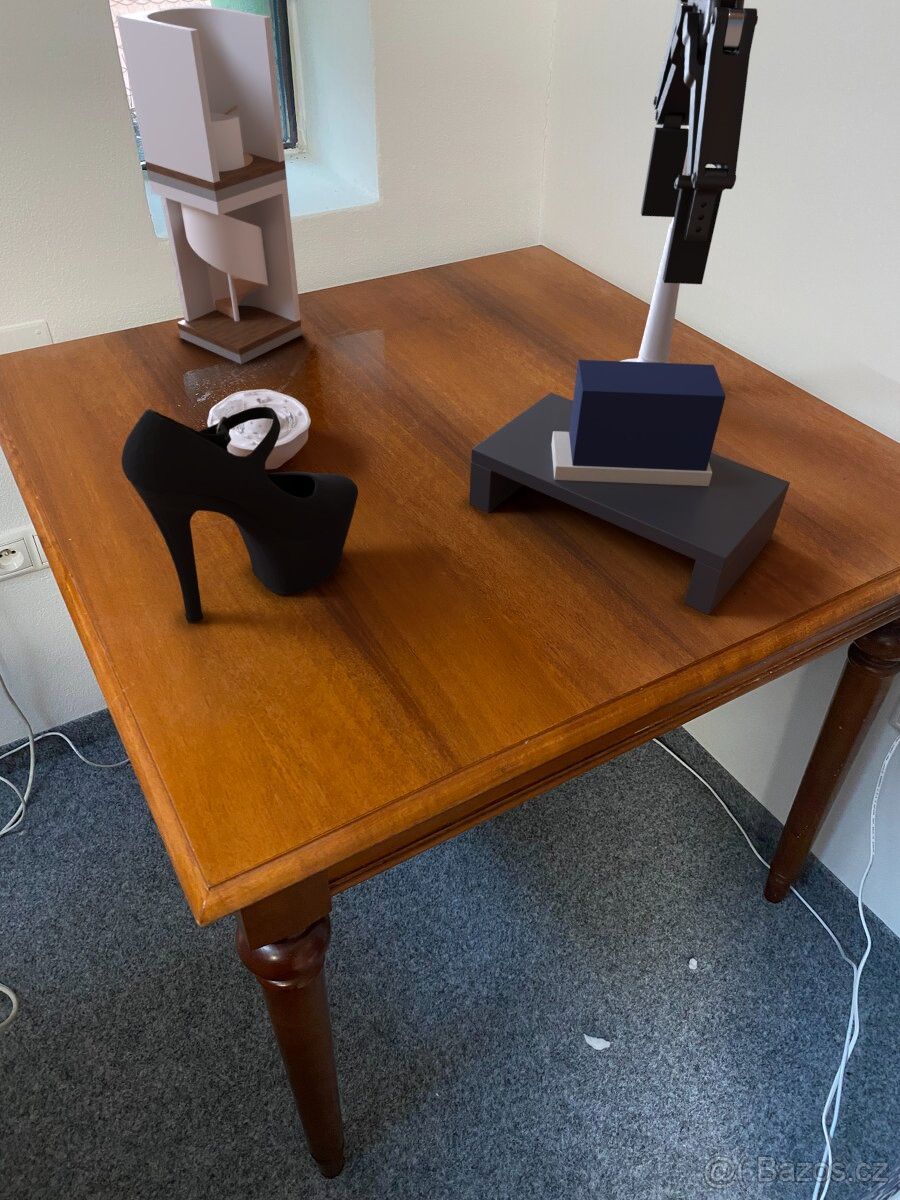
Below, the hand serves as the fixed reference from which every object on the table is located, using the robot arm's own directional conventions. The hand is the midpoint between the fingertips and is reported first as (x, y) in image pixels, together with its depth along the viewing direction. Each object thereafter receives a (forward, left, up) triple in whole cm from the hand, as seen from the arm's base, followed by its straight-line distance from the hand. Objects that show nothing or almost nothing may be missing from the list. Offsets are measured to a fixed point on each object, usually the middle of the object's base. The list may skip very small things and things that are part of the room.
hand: (668, 246), depth 68 cm
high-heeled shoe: (+20, +28, -27) cm, 44 cm away
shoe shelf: (0, 0, -27) cm, 27 cm away
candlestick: (+10, -25, -27) cm, 38 cm away
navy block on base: (0, 0, -20) cm, 20 cm away
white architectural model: (+58, -4, -27) cm, 64 cm away
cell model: (+35, +14, -27) cm, 46 cm away
